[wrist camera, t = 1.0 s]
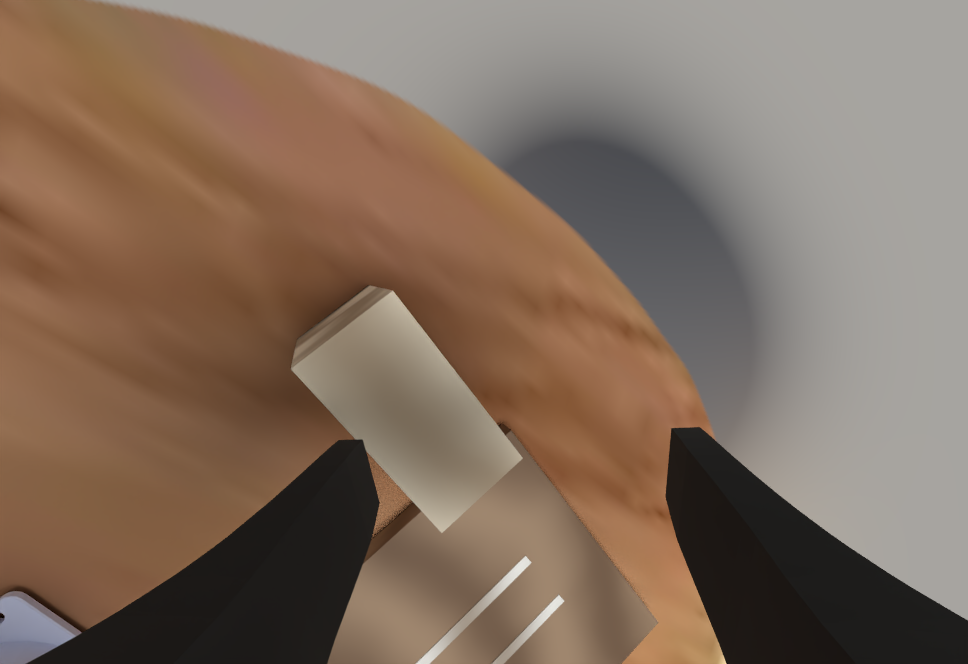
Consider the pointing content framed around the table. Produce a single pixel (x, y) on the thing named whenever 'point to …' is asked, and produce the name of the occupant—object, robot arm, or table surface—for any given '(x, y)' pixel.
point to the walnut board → (492, 586)
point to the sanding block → (404, 404)
